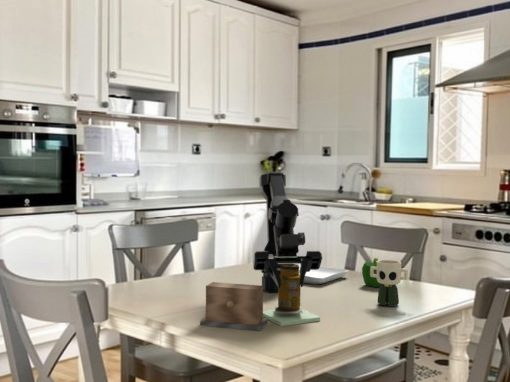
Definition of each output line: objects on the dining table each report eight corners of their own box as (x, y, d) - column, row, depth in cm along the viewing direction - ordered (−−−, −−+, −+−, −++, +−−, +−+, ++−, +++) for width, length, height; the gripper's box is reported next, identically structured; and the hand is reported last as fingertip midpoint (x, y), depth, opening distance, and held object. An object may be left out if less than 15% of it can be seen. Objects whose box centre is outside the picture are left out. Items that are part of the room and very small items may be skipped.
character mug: (367, 305, 169) (368, 262, 169) (371, 300, 176) (372, 258, 175) (405, 309, 165) (406, 264, 165) (408, 304, 172) (409, 261, 171)
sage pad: (296, 310, 163) (297, 306, 163) (320, 320, 153) (320, 317, 153) (259, 314, 158) (259, 311, 158) (280, 326, 147) (280, 322, 147)
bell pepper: (363, 282, 202) (363, 254, 202) (386, 284, 200) (387, 255, 199) (360, 287, 194) (360, 258, 194) (385, 289, 192) (385, 259, 191)
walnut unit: (199, 325, 147) (200, 286, 147) (210, 317, 155) (211, 280, 154) (259, 330, 143) (260, 291, 142) (267, 322, 151) (268, 284, 150)
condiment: (301, 305, 159) (301, 262, 159) (302, 313, 151) (303, 268, 150) (275, 305, 160) (275, 262, 159) (275, 313, 151) (275, 268, 151)
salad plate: (300, 271, 224) (300, 262, 223) (350, 278, 211) (350, 269, 211) (270, 280, 206) (270, 270, 206) (322, 288, 194) (322, 278, 194)
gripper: (254, 222, 157) (258, 270, 147) (321, 222, 159) (329, 269, 149) (251, 246, 165) (255, 293, 155) (315, 245, 167) (322, 292, 157)
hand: (290, 286), depth 154 cm, fingers closed on condiment, 6 cm apart
